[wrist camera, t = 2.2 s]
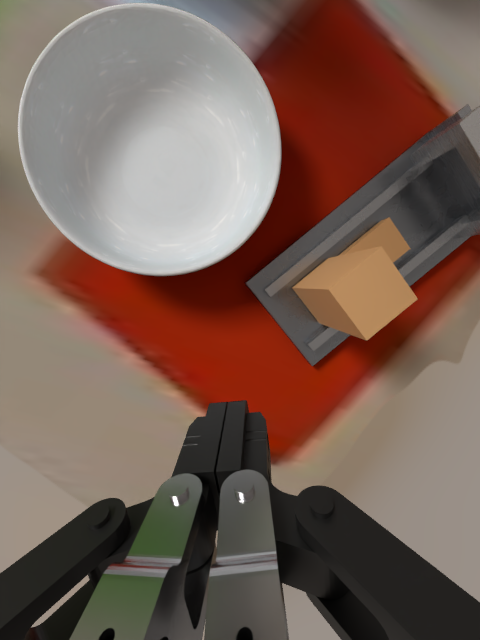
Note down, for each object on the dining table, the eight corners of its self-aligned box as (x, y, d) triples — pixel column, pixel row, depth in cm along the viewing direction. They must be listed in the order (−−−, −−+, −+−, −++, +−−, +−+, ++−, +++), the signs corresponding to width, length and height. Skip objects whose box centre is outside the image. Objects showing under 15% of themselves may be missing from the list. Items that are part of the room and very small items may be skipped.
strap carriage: (319, 323, 32) (366, 340, 22) (291, 287, 31) (328, 289, 21) (403, 253, 32) (489, 240, 22) (378, 216, 31) (455, 185, 21)
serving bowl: (220, 308, 32) (222, 314, 26) (31, 225, 30) (-22, 208, 23) (299, 129, 31) (324, 85, 24) (108, 24, 28) (75, -60, 21)
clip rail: (309, 363, 34) (336, 385, 27) (244, 283, 32) (254, 282, 25) (481, 221, 34) (558, 204, 26) (426, 133, 32) (492, 86, 25)
